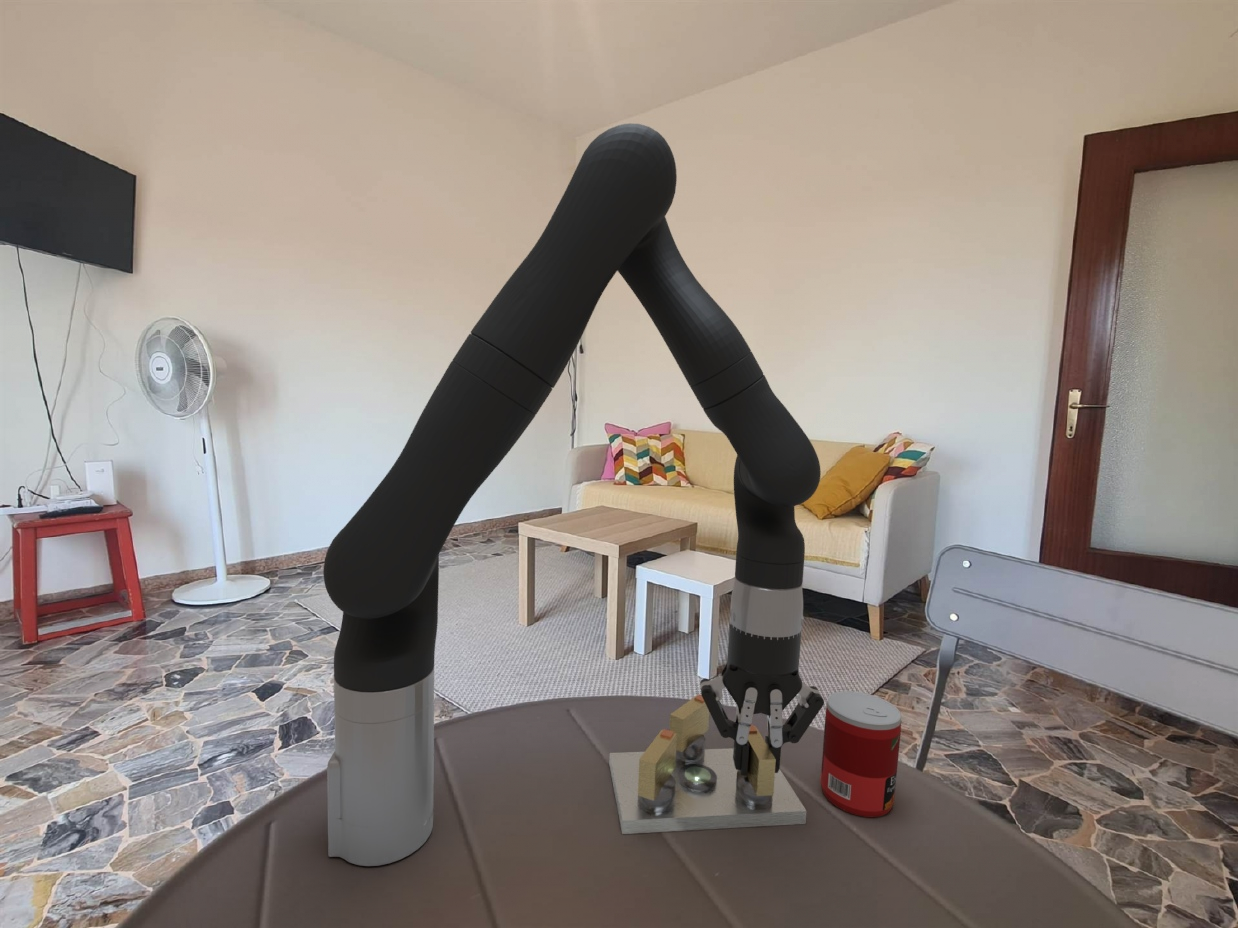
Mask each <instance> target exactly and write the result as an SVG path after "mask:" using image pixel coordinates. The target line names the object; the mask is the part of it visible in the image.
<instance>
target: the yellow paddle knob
mask: <svg viewBox="0 0 1238 928" xmlns="http://www.w3.org/2000/svg"><path fill="white" fill-rule="evenodd" d="M709 725H710V712H709V710H708V708H707V706H706V704H705V702H704V699H703V697H702V695H701V693H700V694H697V695H695V696H694V697H692V698H691V699H690V700H688V701H687V702H686V703H684V704H682V705H681V706H679V708H677V709H676V710H674V711H673V712H671V713H670V714H669V727H668V728H669V729H668V730H670V731H673V732H674V733H676V734H677V741H676V761H675V762H676V763H677V764H679V765H682V766H685V765H688V764H702V763H703V762H704V757H705V749H706V737H705V735H704V734H705V733H706V732H708V731H709Z"/></svg>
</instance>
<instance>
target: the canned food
mask: <svg viewBox="0 0 1238 928" xmlns="http://www.w3.org/2000/svg"><path fill="white" fill-rule="evenodd" d="M826 699H827V700H826V703H825V704H826V705H825V706H826V707H825V717H824V729H823V730H824V731H823V742H822V744H823V745H822V746H823V747H822V757H821V759H822V760H821V773H820V785H821V790H822V792H823V794H824V796H825V797H826V799H827V800H828V801H829V802H830V803H831V804H833V805H834V806H836V807H837V808H838V809H840V810H843V811H844V812H846V813H849V814H852V815H854V816H858V817H865V818H877V817H881V816H884V815H886V814H888V813H889V812H890V811H891V809H892V807H893V805H894V802H895V797H896V796H895V795H896V787H897V786H896V785H897V774H898V764H899V763H898V762H899V755H900V754H899V753H900V744H901V733H902V713H901V712H900V710H899V709H898V707H897V706H895V705H894V704H893V703H891V702H889V701H887V700H886V699H884V698H881V697H879V696H876V695H873V694H869V693H866V692H862V691H861V692H860V691H854V690H853V691H851V690H845V691H837V692H833V693H831V694H830V695H828V697H827V698H826Z"/></svg>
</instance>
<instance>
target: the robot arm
mask: <svg viewBox="0 0 1238 928" xmlns="http://www.w3.org/2000/svg"><path fill="white" fill-rule="evenodd" d="M677 177H678V176H677V166H676V160H675V157H674V154H673V151H672V148H671V146H670V145H669V144H668V142H667V140H666V139H665V137H664V136H663V135H662V134H660V132H658V131H657V130H655V129H654V128H652V127H650V126H648V125H644V124H642V123H641V124H640V123H623V124H619V125H616V126H614V127H611V128H608V129H607V130H605V131H604V132H602V133H600V134H598V135H597V136H596V137H595V138H594V139H593V140H592V141H591V142H590V143H589V144H588V146H587V147H586V148H585V150H584V152H583V153H582V154H581V157H580V159H579V162H578V164H577V166H576V169H574V172H573V174H572V176H571V178H570V181H569V183H568V184H567V187H566V188H565V191H564V193H563V194H562V196H561V198H560V200H559V203H558V204H557V206H556V208H555V209H554V212H553V213H552V215H551V218H550V219H549V221H548V223H547V225H546V226H545V228H544V230H543V232H542V234H541V235H540V237H539V239H538V240H537V242H536V243H535V244H534V246H533V247H532V249H531V250H530V251H529V252H528V254H527V255H526V257H525V258H524V259H523V261H521V263H520V264H519V265H518V267H517V268H516V269H515V271H514V272H513V273H512V274H511V276H510V277H509V278H508V279H507V281H505V283H504V284H503V286H502V288H501V289H500V290H499V292H498V293H497V295H496V296H495V297H494V298H493V300H492V301H491V302H490V304H489V305H488V307H487V309H486V310H485V311H484V313H482V316H481V317H480V318H479V319H478V321H477V322H476V324H475V325H474V326H473V328H472V329H471V331H470V333H469V334H468V335H467V337H466V339H465V340H464V342H463V343H462V344H461V346H460V347H459V349H458V351H457V352H456V353H455V355H454V357H453V359H452V361H450V362H449V364H448V366H447V368H446V369H445V372H444V373H443V374H442V377H441V379H440V381H439V382H438V384H437V386H436V387H435V389H434V390H433V392H432V394H431V396H430V397H429V399H428V401H427V403H426V405H425V406H424V408H423V409H422V412H421V414H420V416H419V417H418V419H417V422H416V424H415V425H414V427H413V429H412V431H411V433H410V435H409V437H408V439H407V441H406V443H405V445H404V447H403V449H402V451H401V452H400V454H399V456H398V457H397V459H396V460H395V462H394V464H393V465H392V467H391V468H390V469H389V471H388V472H387V473H386V475H385V477H383V479H381V481H380V483H379V484H378V485H377V487H376V488H375V489H374V491H372V493H371V494H370V495H369V496H368V498H367V499H366V501H365V502H364V503H363V504H362V506H361V507H360V508H359V509H358V510H357V511H356V513H355V514H354V515H353V516H352V517H351V518H350V520H349V521H348V522H347V524H345V526H343V527H342V528H341V530H340V531H339V532H338V533H337V534H336V535H335V537H334V538H333V539H332V540H331V542H330V544H329V546H328V549H327V551H326V555H325V557H324V564H323V573H322V574H323V582H324V586H325V589H326V592H327V595H328V596H329V598H330V600H331V601H332V603H333V604H334V605H335V606H336V608H338V609H339V610H340V611H342V618H341V619H342V620H341V625H340V630H339V635H338V637H337V641H336V645H335V649H334V652H333V653H334V654H333V690H334V693H333V695H334V696H333V697H334V698H333V699H334V700H333V702H334V703H333V704H334V751H333V753H332V754H331V756H330V758H329V760H328V761H327V766H326V774H327V776H326V777H327V779H326V781H327V786H326V787H327V851H328V854H327V855H328V857H330V858H333V857H335V858H336V857H339V858H341V859H343V860H345V861H346V862H348V863H350V864H354V865H357V866H364V867H375V866H376V867H378V866H383V865H387V864H391V863H394V862H397V861H400V860H402V859H405V858H406V857H408V856H410V855H412V854H413V853H415V852H416V851H418V850H419V849H420V848H421V847H422V846H423V845H424V844H425V843H426V842H427V840H428V839H429V837H430V836H431V833H432V832H433V827H434V812H435V810H434V809H435V804H434V802H435V801H434V784H435V783H434V781H435V779H434V769H435V767H434V763H435V762H434V756H435V754H434V752H435V751H434V750H435V748H434V747H435V745H434V744H435V743H434V742H435V728H434V726H435V653H436V650H435V649H436V642H437V635H438V634H437V632H438V624H439V623H438V622H439V621H438V620H439V616H438V615H439V612H438V611H439V584H440V583H439V578H440V553H441V551H442V549H443V547H444V545H445V543H446V541H447V539H448V538H449V535H450V533H451V532H452V530H453V527H454V526H455V525H456V522H457V520H458V519H459V517H460V516H461V514H462V513H463V511H464V509H465V507H466V506H467V505H468V503H469V501H471V499H472V497H473V496H474V494H475V493H476V492H477V491H478V489H479V488H480V487H481V486H482V485H483V484H484V482H485V481H486V480H487V479H488V477H489V476H490V475H491V474H493V472H494V470H496V468H497V467H498V466H499V465H500V464H501V462H503V460H504V459H505V457H506V456H507V455H508V454H509V452H510V451H511V449H512V448H513V447H514V445H515V444H516V443H517V442H518V440H519V439H520V438H521V436H522V435H523V434H524V432H525V431H526V430H527V428H528V427H529V426H530V424H532V422H533V420H534V418H535V417H536V415H537V414H538V412H539V411H540V409H541V408H542V407H543V405H544V404H545V402H546V400H547V399H548V397H549V396H550V394H551V393H552V391H553V389H554V388H555V386H556V385H557V383H558V381H559V380H560V377H561V376H562V374H563V372H564V371H565V369H566V367H567V366H568V364H569V362H570V360H571V358H572V356H573V354H574V352H575V350H576V349H577V347H578V345H579V342H580V340H581V338H582V336H583V335H584V332H585V330H586V328H587V326H588V324H589V322H590V319H591V317H592V315H593V313H594V312H595V311H594V310H595V309H596V307H597V304H598V302H599V300H600V298H601V297H602V295H603V293H604V291H605V290H606V288H608V287H607V286H608V285H609V284H610V282H611V280H612V279H613V278H614V276H615V274H616V273H618V274H620V276H621V278H623V280H624V281H625V282H626V284H627V285H628V287H629V288H630V289H631V291H632V293H633V294H634V295H635V297H636V298H637V300H638V301H639V302H640V303H641V305H642V307H643V308H644V310H645V311H646V313H647V315H648V316H649V317H650V319H651V321H652V322H653V325H654V326H655V327H656V329H657V331H658V332H659V334H660V336H661V337H662V340H663V342H664V343H665V345H666V346H667V348H668V350H669V351H670V353H671V355H672V357H673V359H674V361H675V362H676V364H677V366H678V367H679V369H680V371H681V372H682V374H683V376H684V378H685V380H686V382H687V384H688V386H689V387H690V389H691V390H692V392H693V394H694V396H695V398H696V399H697V402H698V403H699V404H700V407H701V408H702V409H703V412H704V414H705V415H706V417H707V418H708V419H709V421H710V422H711V424H712V425H713V426H715V428H717V429H718V431H720V432H722V433H723V434H724V436H725V437H726V438H727V440H728V442H729V443H730V445H731V447H732V448H733V450H734V451H735V453H736V454H737V455H736V458H735V463H734V468H733V469H734V470H733V494H734V497H733V498H734V507H735V509H734V510H735V517H736V525H737V536H738V537H737V543H736V550H735V551H736V553H735V566H734V567H735V568H734V570H735V571H734V581H733V586H732V590H731V596H730V597H731V598H730V611H729V624H728V625H729V626H728V627H729V628H728V641H727V643H728V644H727V656H726V657H727V658H726V659H727V660H726V664H725V665H724V667H723V669H722V670H721V671H722V672H721V675H720V676H718V677H715V678H713V679H709V678H702V679H701V680H700V683H699V685H700V686H699V687H700V695H702V697H703V699H704V702H705V704H706V706H707V708H708V710H709V715H710V717H711V718H712V720H713V722H714V724H715V727H716V728H717V730H718V733H719V735H720V736H721V737H722V738H724V739H728V738H730V739H731V740H733V748H734V751H733V760H734V765H735V768H736V770H739V771H740V775H741V776H747V772H748V757H749V743H748V735H749V729H750V726H751V725H753V724H752V722H753V716H754V715H759V714H762V715H766V725H767V727H766V728H767V729H766V731H767V735H766V736H765V737H764V738H765V739H764V741H765V742H766V744H767V746H768V748H769V749H770V751H771V752H772V754H773V756H774V757H775V759H776V764H775V773H778V771H779V769H780V767H781V754H782V752H781V751H782V747H783V745H784V744H786V743H791V744H797V743H799V741H800V740H801V739H802V737H803V735H805V733H806V731H808V728H809V727H810V725H811V724H812V722H813V721H814V720H815V718H816V717H817V715H818V714H819V713H820V712H821V711H820V710H821V709H823V706H824V704H825V700H824V698H823V696H822V694H821V692H820V690H819V688H818V687H816V686H814V685H813V686H812V685H811V686H808V685H807V684H805V683H803V680H802V678H801V675H800V673H799V668H800V656H801V644H802V643H801V642H802V641H801V640H802V629H803V625H804V618H805V617H804V594H803V593H804V592H803V583H804V568H805V554H806V551H805V550H806V549H805V548H806V545H805V538H804V536H803V535H804V534H803V533H802V531H801V530H800V529H799V527H798V524H797V522H796V515H795V507H796V506H798V505H801V504H803V503H805V502H807V501H808V500H810V498H811V497H813V495H814V494H815V493H816V491H817V489H818V487H819V485H820V481H821V473H822V471H821V464H820V459H819V456H818V454H817V451H816V450H815V447H814V446H813V444H812V442H811V440H810V438H808V436H807V434H806V432H805V431H804V430H803V428H802V427H801V426H800V425H799V423H798V422H797V421H796V419H795V418H794V416H793V415H792V414H791V412H790V411H789V410H788V408H787V407H786V406H785V404H783V402H781V400H780V399H779V398H778V397H777V396H776V394H775V393H774V391H773V390H772V388H771V385H770V383H769V382H768V379H767V377H766V375H765V374H764V372H763V370H762V368H761V366H760V364H759V363H758V361H757V359H756V358H755V356H754V355H755V354H754V353H753V352H752V349H751V348H750V346H749V345H748V343H747V341H746V339H745V338H744V337H743V334H742V333H741V331H740V330H739V328H738V327H737V326H736V324H735V323H734V322H733V320H732V319H731V318H730V317H729V315H727V313H726V312H725V310H724V309H723V308H722V307H721V306H720V305H719V303H717V302H716V301H715V299H714V298H713V297H712V296H711V295H710V294H709V292H707V290H706V289H705V287H703V286H702V285H701V283H700V282H699V281H698V280H697V278H696V276H695V275H694V274H693V272H692V271H691V270H690V268H689V266H688V264H687V263H686V261H685V260H684V257H683V255H682V254H681V251H679V248H678V245H677V244H676V242H675V239H674V237H673V234H672V232H671V229H670V226H669V224H668V220H667V218H666V215H667V214H668V212H669V210H670V208H671V206H672V205H673V202H674V198H675V195H676V187H677V179H678V178H677ZM724 688H725V689H726V691H727V692H728V693H729V695H730V696H731V698H732V700H733V701H734V703H736V708H735V709H736V710H735V711H736V712H735V718H734V721H733V720H731V719H730V718H729V717H728V715H727V712H726V711H725V709H724V707H723V705H722V703H721V701H722V699H723V690H724ZM796 696H797V701H798V703H797V705H796V706H795V708H794V709H793V711H792V712H791V714H790V715H789V717H788V718H787V720H785V722H784V724H783V711H784V710H785V709H786V708H787V707H788V705H789V704H790V703H791V702H792V701H793V700H794V699H795V697H796ZM780 770H781V769H780Z"/></svg>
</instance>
